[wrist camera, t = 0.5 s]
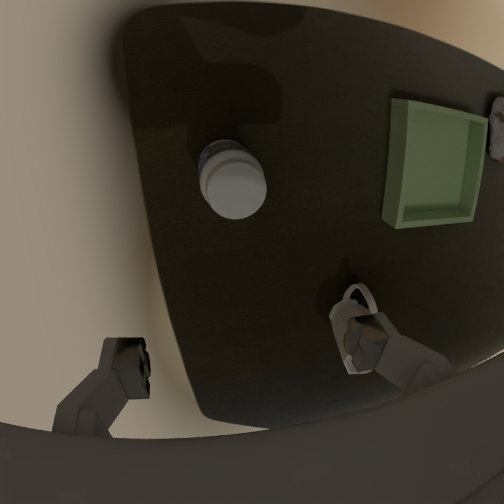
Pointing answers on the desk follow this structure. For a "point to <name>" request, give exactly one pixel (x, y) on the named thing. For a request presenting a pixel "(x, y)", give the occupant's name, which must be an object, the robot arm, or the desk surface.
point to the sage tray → (432, 164)
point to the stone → (497, 130)
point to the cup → (344, 313)
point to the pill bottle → (231, 179)
